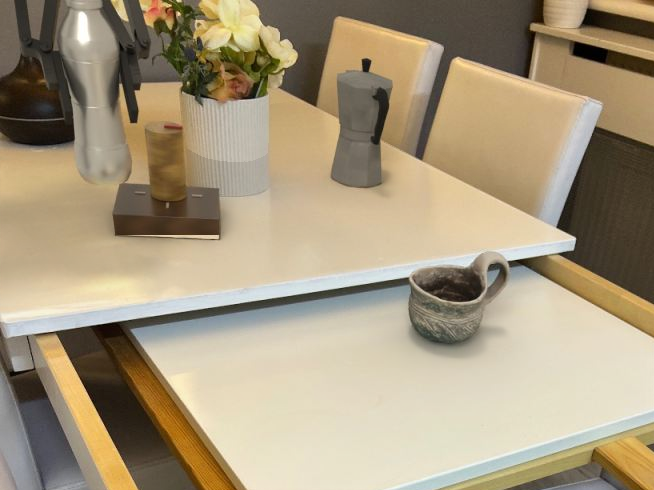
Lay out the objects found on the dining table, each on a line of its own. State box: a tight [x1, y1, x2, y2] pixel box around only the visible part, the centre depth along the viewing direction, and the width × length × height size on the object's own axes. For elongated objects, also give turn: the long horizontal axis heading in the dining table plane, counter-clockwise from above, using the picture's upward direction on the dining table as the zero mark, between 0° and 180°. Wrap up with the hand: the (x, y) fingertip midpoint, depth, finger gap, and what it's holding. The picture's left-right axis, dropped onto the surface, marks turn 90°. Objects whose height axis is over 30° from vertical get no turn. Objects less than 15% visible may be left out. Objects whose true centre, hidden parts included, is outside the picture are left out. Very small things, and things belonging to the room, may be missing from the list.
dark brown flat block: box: [112, 182, 221, 237], centre depth 111 cm, size 14×12×3 cm
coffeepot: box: [330, 57, 394, 189], centre depth 125 cm, size 15×9×18 cm, turn 24°
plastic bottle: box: [56, 0, 133, 187], centre depth 87 cm, size 6×7×20 cm
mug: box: [407, 250, 511, 344], centre depth 94 cm, size 10×12×10 cm
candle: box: [144, 120, 187, 201], centre depth 108 cm, size 5×5×9 cm
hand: (102, 117), depth 86 cm, fingers closed on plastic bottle, 6 cm apart
